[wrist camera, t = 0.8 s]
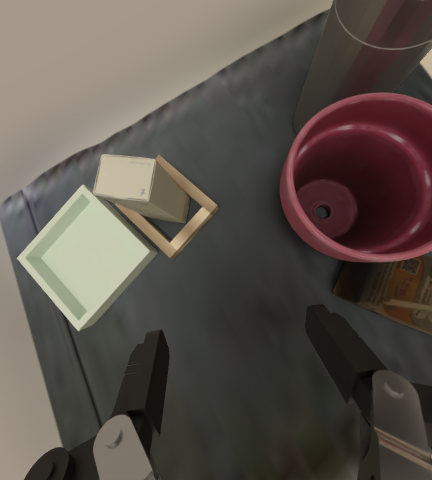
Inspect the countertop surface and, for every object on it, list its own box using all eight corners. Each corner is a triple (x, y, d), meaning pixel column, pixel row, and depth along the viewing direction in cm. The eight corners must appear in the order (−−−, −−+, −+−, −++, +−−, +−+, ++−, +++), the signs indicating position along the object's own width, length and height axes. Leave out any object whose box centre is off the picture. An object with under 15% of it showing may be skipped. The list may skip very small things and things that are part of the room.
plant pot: (252, 186, 30) (259, 132, 18) (344, 147, 29) (422, 60, 17) (292, 277, 28) (332, 289, 16) (393, 239, 27) (523, 219, 15)
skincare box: (191, 197, 31) (159, 157, 19) (186, 225, 31) (150, 202, 19) (153, 192, 32) (100, 151, 20) (147, 219, 32) (90, 194, 20)
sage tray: (96, 191, 34) (82, 184, 31) (158, 252, 31) (150, 251, 28) (36, 258, 34) (16, 258, 31) (93, 324, 31) (78, 331, 28)
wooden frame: (164, 161, 33) (159, 154, 31) (219, 209, 31) (217, 205, 29) (122, 207, 33) (114, 204, 31) (174, 258, 31) (170, 258, 29)
